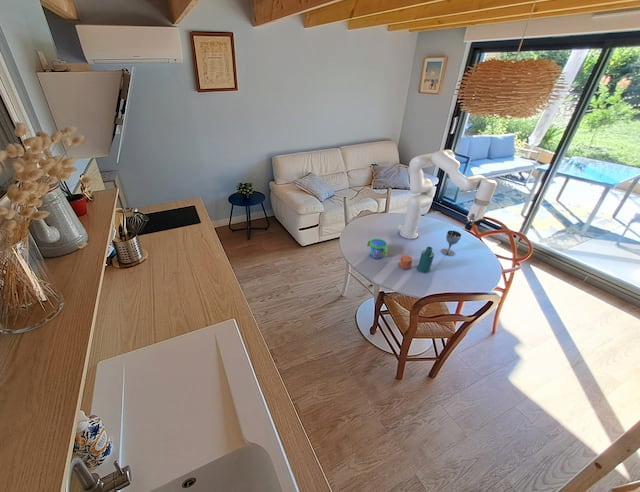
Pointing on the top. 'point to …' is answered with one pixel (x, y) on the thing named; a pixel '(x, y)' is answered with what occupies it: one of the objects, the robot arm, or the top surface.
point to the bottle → (426, 260)
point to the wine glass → (451, 241)
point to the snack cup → (377, 248)
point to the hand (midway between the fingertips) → (472, 227)
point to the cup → (405, 262)
